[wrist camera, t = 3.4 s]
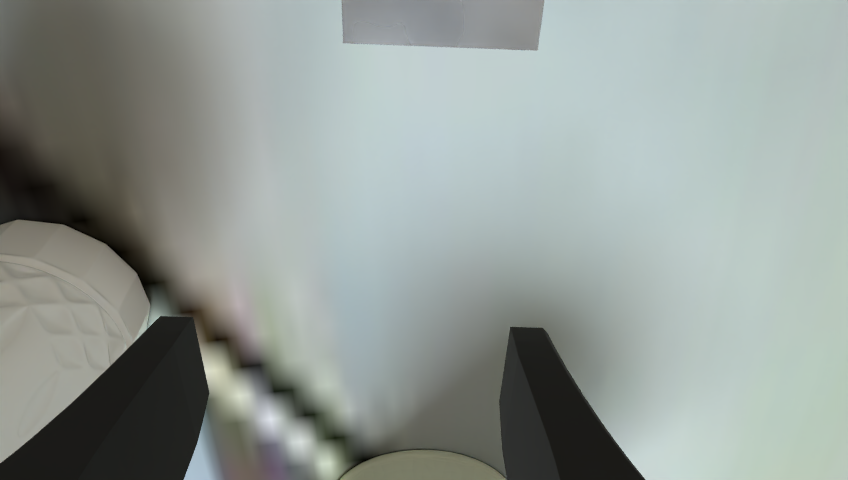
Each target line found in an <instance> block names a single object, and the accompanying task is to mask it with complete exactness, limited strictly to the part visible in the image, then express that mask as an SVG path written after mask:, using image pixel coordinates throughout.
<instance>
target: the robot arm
mask: <svg viewBox="0 0 848 480" xmlns="http://www.w3.org/2000/svg"><path fill="white" fill-rule="evenodd" d="M208 396H209V389H208V385H207V380H206V375H205V371H204V366H203V361H202V357H201V352H200V347H199V343H198V338H197V333H196V329H195V324H194V319H193V317H167V316H160V317H159V318H158V319H157V320H156V321H155V322H154V323H153V324H152V325H151V326H150V327H149V328H148V329H147V330H146V331H145V332H144V333H143V334H142V335H141V336H140V337H139V338H138V339H137V340H136V341H135V342H134V343H133V344H132V345H131V346H130V347H129V348H128V349H127V350H126V351H125V352H124V353H123V354H122V355H121V356H120V357H119V358H118V359H117V360H116V361H115V362H114V363H113V364H112V365H111V366H110V367H109V368H108V369H107V370H106V371H105V372H104V373H102V374H101V375H100V376H99V377H98V378H97V379H96V380H95V381H94V382H93V383H92V384H91V385H90V386H89V387H88V388H87V389H86V390H85V391H84V392H83V393H82V394H80V395H79V396H78V397H77V398H76V399H75V400H74V401H73V402H72V403H71V404H70V405H69V406H68V407H66V408H65V409H64V410H63V411H62V412H61V413H60V414H58V415H57V416H56V417H55V418H54V419H53V420H52V421H50V422H49V423H48V424H47V425H46V426H45V427H44V428H42V429H41V430H40V431H39V432H38V433H37V434H36V435H34V436H33V437H32V438H31V439H30V440H28V441H27V442H26V443H25V444H24V445H22V446H21V447H20V448H19V449H18V450H16V451H15V452H14V453H13V454H11V455H10V456H9V457H8V458H6V459H5V460H4V461H2V462H1V463H0V480H183V479H184V477H185V474H186V471H187V469H188V466H189V463H190V461H191V458H192V456H193V453H194V450H195V447H196V445H197V441H198V438H199V434H200V430H201V426H202V422H203V418H204V413H205V409H206V405H207V400H208ZM499 403H500V420H501V436H502V450H503V457H504V463H505V468H506V474H507V480H645V479H644V477H643V476H642V475H641V474H640V472H639V471H638V470H637V469H636V468H635V466H634V465H633V464H632V463H631V461H630V460H629V459H628V457H627V456H626V455H625V454H624V452H623V451H622V450H621V448H620V447H619V446H618V444H617V443H616V442H615V440H614V439H613V438H612V436H611V435H610V433H609V432H608V431H607V429H606V428H605V427H604V425H603V424H602V422H601V421H600V419H599V418H598V416H597V415H596V413H595V412H594V410H593V409H592V407H591V406H590V404H589V403H588V401H587V400H586V399H585V397H584V396H583V394H582V392H581V391H580V389H579V388H578V386H577V384H576V383H575V381H574V380H573V378H572V376H571V375H570V373H569V371H568V370H567V368H566V366H565V365H564V363H563V361H562V359H561V358H560V356H559V354H558V352H557V350H556V349H555V347H554V345H553V343H552V341H551V339H550V337H549V335H548V333H547V332H546V331H545V330H544V329H543V328H526V327H510V333H509V340H508V346H507V353H506V360H505V367H504V373H503V380H502V387H501V394H500V400H499Z"/></svg>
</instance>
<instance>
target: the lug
mask: <svg viewBox="0 0 848 480" xmlns="http://www.w3.org/2000/svg"><path fill="white" fill-rule="evenodd" d="M543 6H544V0H342V22H343V43H351V44H378V45H404V46H431V47H458V48H484V49H511V50H538V43H539V35H540V28H541V21H542V13H543Z"/></svg>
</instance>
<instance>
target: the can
mask: <svg viewBox="0 0 848 480" xmlns="http://www.w3.org/2000/svg"><path fill="white" fill-rule="evenodd" d="M340 480H506V478H505V477H503V476H502V475H501V474H500V473H499V472H498V471H496V470H495V469H493V468H492V467H490V466H489V465H487V464H485V463H483V462H481V461H478V460H476V459H474V458H471V457H468V456H464V455H461V454H457V453H452V452H446V451H438V450H408V451H399V452H394V453H389V454H385V455H381V456H378V457H375V458H372V459H370V460H368V461H365V462H363V463H361V464H359V465H358V466H356V467H354V468H353V469H351V470H350V471H348V472H347V473H346V474H345V475H344V476H343V477H342V478H341V479H340Z"/></svg>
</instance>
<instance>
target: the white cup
mask: <svg viewBox="0 0 848 480" xmlns="http://www.w3.org/2000/svg"><path fill="white" fill-rule="evenodd" d="M149 312H150V303H149V300H148V298H147V296H146V293H145V291H144V289H143V286H142V284H141V282H140V279H139V277H138V274H137V273H136V272H135V271H134V270H133V269H132V268H131V267H130V266H129V265H128V264H127V263H126V262H125V261H124V260H123V259H122V258H120V257H119V256H118V255H117V254H116V253H115V252H114V251H113V250H112V249H111V248H110V247H109V246H108V245H106V244H105V243H103V242H101V241H98V240H96V239H94V238H92V237H90V236H88V235H85V234H83V233H81V232H79V231H77V230H75V229H72V228H70V227H68V226H66V225H63V224H55V223H46V222H37V221H28V220H14V221H11V222H8V223H4V224H1V225H0V463H1V462H2V461H4V460H5V459H6V458H8V457H9V456H10V455H11V454H13V453H14V452H15V451H16V450H18V449H19V448H20V447H21V446H22V445H24V444H25V443H26V442H27V441H28V440H30V439H31V438H32V437H33V436H34V435H36V434H37V433H38V432H39V431H40V430H41V429H42V428H44V427H45V426H46V425H47V424H48V423H49V422H50V421H52V420H53V419H54V418H55V417H56V416H57V415H58V414H60V413H61V412H62V411H63V410H64V409H65V408H66V407H68V406H69V405H70V404H71V403H72V402H73V401H74V400H75V399H76V398H77V397H78V396H79V395H80V394H82V393H83V392H84V391H85V390H86V389H87V388H88V387H89V386H90V385H91V384H92V383H93V382H94V381H95V380H96V379H97V378H98V377H99V376H100V375H101V374H102V373H104V372H105V371H106V370H107V369H108V368H109V367H110V366H111V365H112V364H113V363H114V362H115V361H116V360H117V359H118V358H119V357H120V356H121V355H122V354H123V353H124V352H125V351H126V350H127V349H128V348H129V347H130V346H131V345H132V344H133V343H134V342H135V341H136V340H137V339H138V338H139V337H140V336H141V335H142V334H143V333H144V332H145V331H146V328H147V323H148V317H149Z"/></svg>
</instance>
